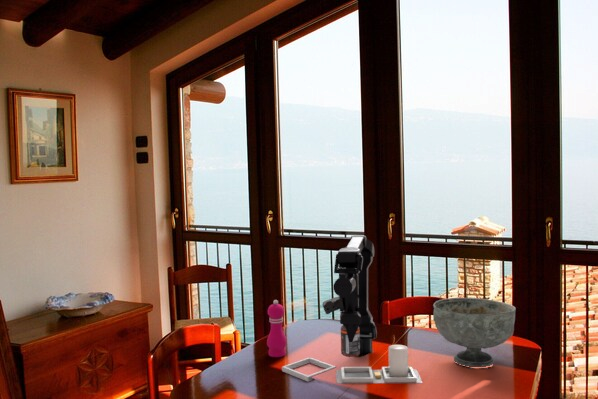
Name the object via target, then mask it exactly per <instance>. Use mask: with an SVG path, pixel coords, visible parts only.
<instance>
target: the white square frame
mask: <svg viewBox="0 0 598 399" xmlns="http://www.w3.org/2000/svg"><path fill="white" fill-rule="evenodd" d="M309 363H310V364H313V365H315V366H317V367H321V368H323V369H322V370H320V371H319V370H318V371H317V372H314V373H311V374H306V373H305V374H304V373H302V372H300V371H297V370H294V369H297V368H299V367H301V366H305V365H306V364H309ZM336 368H337V367H336V365H333V364H330V363H328V362H324V361H321V360H319V359H316V358H313V357H306V358H303V359H301V360H297V361H295V362H292V363H289V364H285V365H283V366H281V371H282V372H283V373H286V374H288V375H291V376H293V377H295V378H298V379H301V380H303V381H305V382H311V381H314V380H315V378H312V377H314V376H317V375H320V374H322V373H325V372H327V371H331V370H333V369H336Z"/></svg>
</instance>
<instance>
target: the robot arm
mask: <svg viewBox="0 0 598 399" xmlns="http://www.w3.org/2000/svg"><path fill="white" fill-rule="evenodd" d="M374 257H375V246H374V243H373V241H371V240H370V239H368V238H367V236H366V235H364V234H353V235H351V236H350V241H349V242H348V244H347V246H345V247H342V248H340V249H339V250H338V251H337V253H336V254H335V261H334V262H335V263H334V270H333V274H338V278H337V279H336V280H335V281H334V282H333V286H332V288H333V291H334V293H335V294H336V297H332V298H329V299H327V300H324V301H323V302H322V307H323V311H324V312H325V315H329V314H331V313H333V312H335V311H338V310H339V313H340V314H339V323H340V325H342V326H343V325H344V326H345V327H346V331H347V336H348V340H349V342H353V339H354V337H355V334H356V332H357V329H358V327H359V330H360V354H359V355H358V356H357V357H365V356H366V355H369V354H372V353H375V351H374V350H373V340H375V339H377V338H378V337H377V335H378V331H377V326H376V325H375V322H374V321H373V319H374V317H373V315H372V313H371V311H370V310H369V268H370V266H371V264H372V263H373V260H374Z"/></svg>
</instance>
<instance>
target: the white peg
mask: <svg viewBox="0 0 598 399" xmlns="http://www.w3.org/2000/svg"><path fill="white" fill-rule="evenodd" d="M387 349H388V367H389V377H408V367H409V347H408V346H406V345H403V344H392V345H389V346H388V348H387Z"/></svg>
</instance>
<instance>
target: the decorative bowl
mask: <svg viewBox="0 0 598 399" xmlns="http://www.w3.org/2000/svg"><path fill="white" fill-rule="evenodd" d="M432 306H433V316H432V318H433V321H434V325H435V327H436V330H437V331H438V333H439V334H440V336H442V337H443V338H444V339H445V340H447V342H449V343H452V344H454V345H457V346H460V347H463V348H464V347H465V349H466V350H461V351H459V352H458V353H455V355H454V356H453V362H454V361H455V362H457V363H458V364H461V365H465V366H469V367H486V366H490V365H492V364H493V363H494V358H493V356H491V354H489V353H488V352H485V351H482V349H488V348H489V349H490V348H494V347H497V346H499V345H501V344H504V343H505V342H507V341H508V340H509V339H510V338H511V337H512V336H513V335H514V331H515V323H516V322H515V321H516V306H514V305H512V304H510V303H507V302H501V301H499V300H492V299H486V298H475V297H449V298H443V299H439V300H436V301H435V302H434V303H433V305H432ZM455 362H454V363H455ZM458 364H457V365H458ZM493 365H494V364H493Z"/></svg>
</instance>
